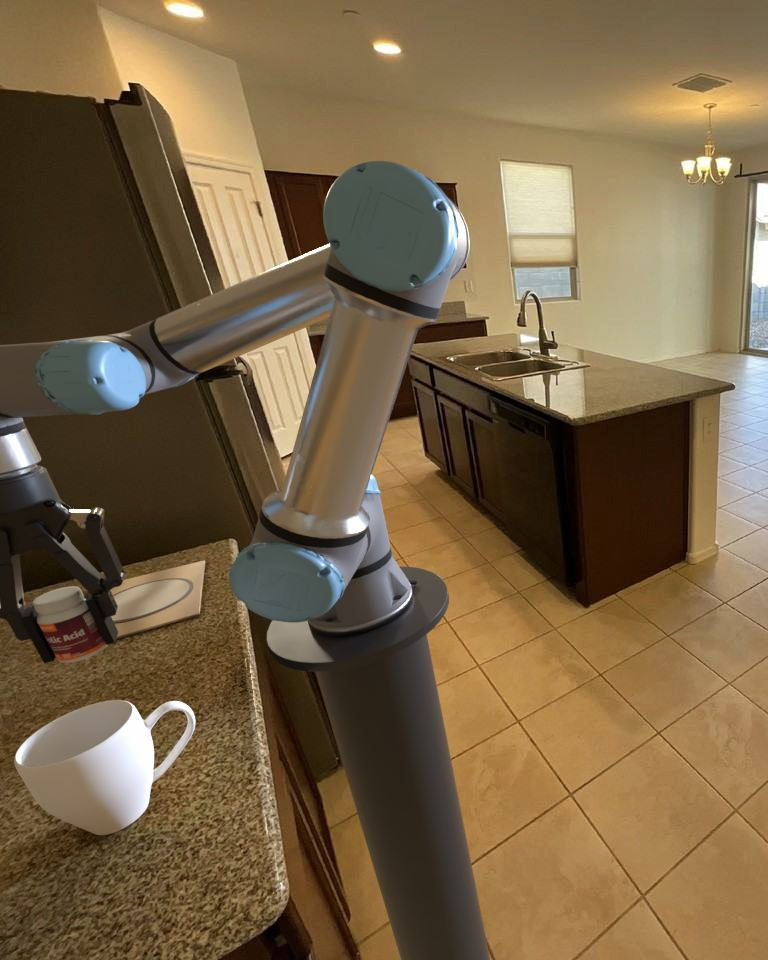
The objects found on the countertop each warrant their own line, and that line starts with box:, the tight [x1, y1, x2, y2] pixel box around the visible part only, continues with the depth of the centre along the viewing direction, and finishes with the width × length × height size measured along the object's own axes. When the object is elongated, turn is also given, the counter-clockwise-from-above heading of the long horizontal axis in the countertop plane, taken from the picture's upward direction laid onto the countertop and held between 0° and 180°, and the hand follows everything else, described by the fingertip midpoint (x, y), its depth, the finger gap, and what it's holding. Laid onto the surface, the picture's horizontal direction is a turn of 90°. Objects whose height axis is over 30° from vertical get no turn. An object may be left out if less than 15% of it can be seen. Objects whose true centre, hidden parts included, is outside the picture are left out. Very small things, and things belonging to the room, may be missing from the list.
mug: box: [13, 699, 196, 836], centre depth 53 cm, size 12×8×11 cm
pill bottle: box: [32, 585, 110, 664], centre depth 64 cm, size 5×5×8 cm
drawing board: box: [111, 560, 206, 640], centre depth 90 cm, size 16×22×1 cm
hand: (82, 646), depth 65 cm, fingers closed on pill bottle, 5 cm apart
